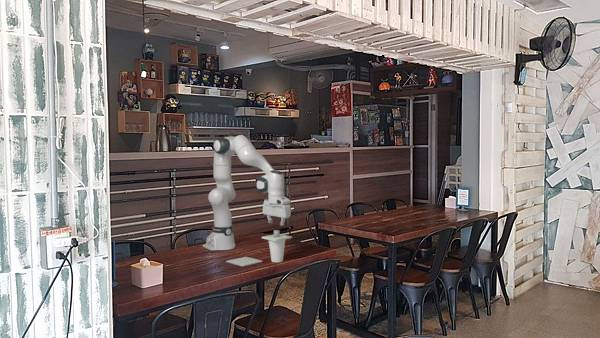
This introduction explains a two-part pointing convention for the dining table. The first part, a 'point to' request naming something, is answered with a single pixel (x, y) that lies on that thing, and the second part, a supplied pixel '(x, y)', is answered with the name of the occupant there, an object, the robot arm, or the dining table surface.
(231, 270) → the dining table surface
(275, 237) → the lid
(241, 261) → the mat
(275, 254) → the foam cup
